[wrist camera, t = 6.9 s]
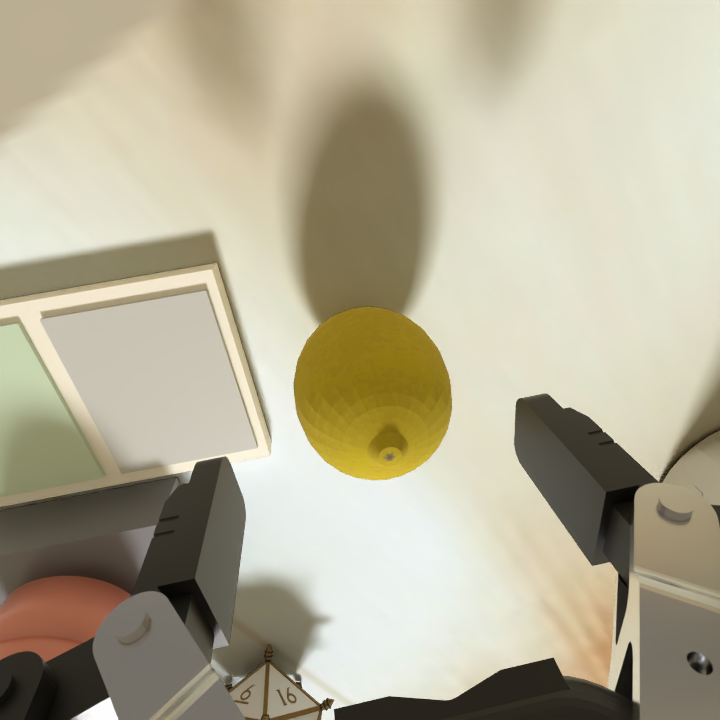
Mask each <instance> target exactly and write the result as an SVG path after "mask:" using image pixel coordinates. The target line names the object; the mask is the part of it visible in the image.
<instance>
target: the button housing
mask: <svg viewBox="0 0 720 720" xmlns="http://www.w3.org/2000/svg"><path fill="white" fill-rule="evenodd" d="M178 485H180V482H179V480H178V478H177V477H175V478H170V479H165V480H159V481H154V482H149V483H144V484H138V485H133V486H128V487H123V488H117V489H112V490H107V491H102V492H96V493H91V494H86V495H81V496H76V497H70V498H65V499H60V500H55V501H49V502H44V503H39V504H34V505H28V506H23V507H18V508H13V509H7V510H2V511H0V607H1V605H2V604H3V602H4V601H5V599H6V598H7V597H8V595H9V594H10V593H12V592H13V591H14V590H15V589H17V588H18V587H20V586H22V585H24V584H26V583H28V582H31V581H34V580H37V579H41V578H46V577H53V576H81V577H88V578H93V579H97V580H101V581H105V582H107V583H110V584H113V585H115V586H117V587H119V588H121V589H123V590H124V591H126V592H128V593H129V594H130V595H132V592H133V589H134V586H135V584H136V581H137V578H138V575H139V573H140V570H141V567H142V564H143V562H144V559H145V556H146V553H147V550H148V548H149V545H150V542H151V539H152V538H154V535H153V534H154V531H155V528H156V526H157V523H159V517H160V515H161V512H162V509H163V506H164V503H165V501H166V500H167V499H168V498H169V497H170V495H171V494H172V493H173V492H174V490H175V489H176V488H177V487H178Z"/></svg>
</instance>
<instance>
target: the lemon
mask: <svg viewBox="0 0 720 720" xmlns="http://www.w3.org/2000/svg"><path fill="white" fill-rule="evenodd" d="M294 396H295V404H296V411H297V415H298V418H299V421H300V423H301V425H302V427H303V430H304V432H305V434H306V436H307V439H308V440H309V442H310V444H311V445H312V447H313V448H314V449H315V450H316V451H317V452H318V454H319V455H320V456H321V457H322V458H323V459H324V461H326V462H327V463H329V464H330V465H331V466H333V467H334V468H336V469H337V470H339V471H340V472H342V473H345V474H347V475H350V476H353V477H356V478H362V479H369V480H385V479H391V478H395V477H399V476H402V475H404V474H406V473H408V472H410V471H413V470H415V469H416V468H417V467H419V466H420V465H421V464H423V463H424V462H425V461H427V460H428V459H429V458H430V457H431V455H432V454H433V453H434V452H435V451H436V450H437V448H438V447H439V445H440V443H441V441H442V439H443V437H444V436H445V434H446V431H447V429H448V425H449V421H450V416H451V411H452V398H451V385H450V379H449V374H448V372H447V369H446V366H445V364H444V361H443V359H442V356H441V354H440V352H439V350H438V348H437V347H436V345H435V344H434V343H433V341H432V340H431V339H430V338H429V336H428V335H427V334H426V332H425V331H424V330H423V329H422V328H421V327H419V326H418V325H417V324H415V323H414V322H413V321H411V320H410V319H408V318H407V317H406V316H404V315H402V314H399V313H396V312H394V311H391V310H388V309H385V308H377V307H360V308H352V309H349V310H346V311H344V312H341V313H338V314H336V315H334V316H332V317H331V318H330V319H328V320H327V321H325V322H324V323H322V324H321V325H320V326H319V327H318V328H317V329H316V330H315V332H314V333H313V334H312V335H311V336H310V337H309V339H308V340H307V342H306V344H305V346H304V348H303V350H302V352H301V354H300V356H299V358H298V362H297V366H296V372H295V378H294Z"/></svg>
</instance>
